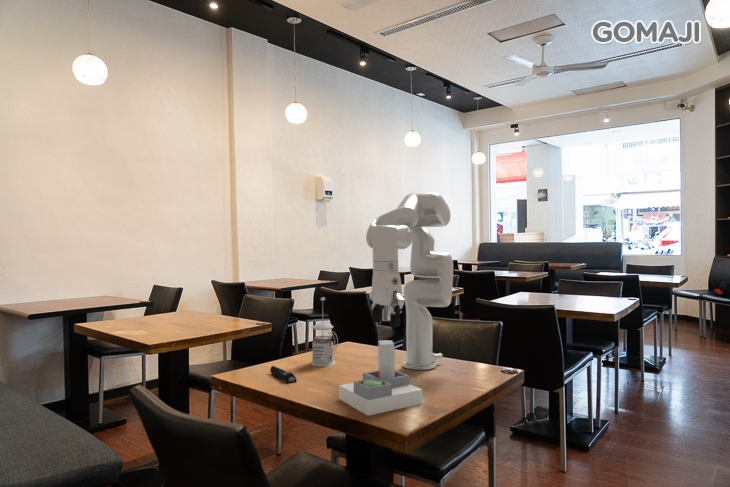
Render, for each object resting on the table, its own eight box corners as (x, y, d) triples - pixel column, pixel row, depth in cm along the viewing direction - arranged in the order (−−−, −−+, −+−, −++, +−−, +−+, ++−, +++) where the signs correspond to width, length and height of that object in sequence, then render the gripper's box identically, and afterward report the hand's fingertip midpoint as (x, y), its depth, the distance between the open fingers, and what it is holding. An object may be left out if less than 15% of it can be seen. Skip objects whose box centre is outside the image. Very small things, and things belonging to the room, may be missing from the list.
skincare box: (378, 380, 146) (378, 340, 146) (392, 379, 147) (392, 340, 147) (380, 385, 140) (380, 344, 140) (395, 385, 141) (394, 344, 141)
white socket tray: (390, 389, 150) (390, 366, 150) (422, 403, 137) (422, 378, 137) (339, 399, 141) (339, 374, 141) (367, 415, 127) (367, 389, 127)
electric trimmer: (277, 373, 171) (277, 364, 171) (297, 383, 159) (297, 373, 159) (267, 375, 169) (267, 366, 169) (287, 384, 156) (286, 375, 156)
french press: (321, 358, 190) (321, 295, 191) (344, 363, 184) (344, 297, 184) (304, 363, 182) (304, 297, 183) (327, 368, 176) (328, 299, 176)
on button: (375, 388, 136) (375, 378, 136) (385, 392, 132) (385, 383, 132) (360, 391, 134) (360, 381, 134) (369, 395, 129) (369, 385, 129)
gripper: (413, 268, 138) (413, 327, 138) (380, 265, 153) (380, 319, 153) (391, 269, 134) (392, 330, 134) (359, 266, 149) (360, 321, 149)
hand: (386, 324), depth 144 cm, fingers open, 9 cm apart
